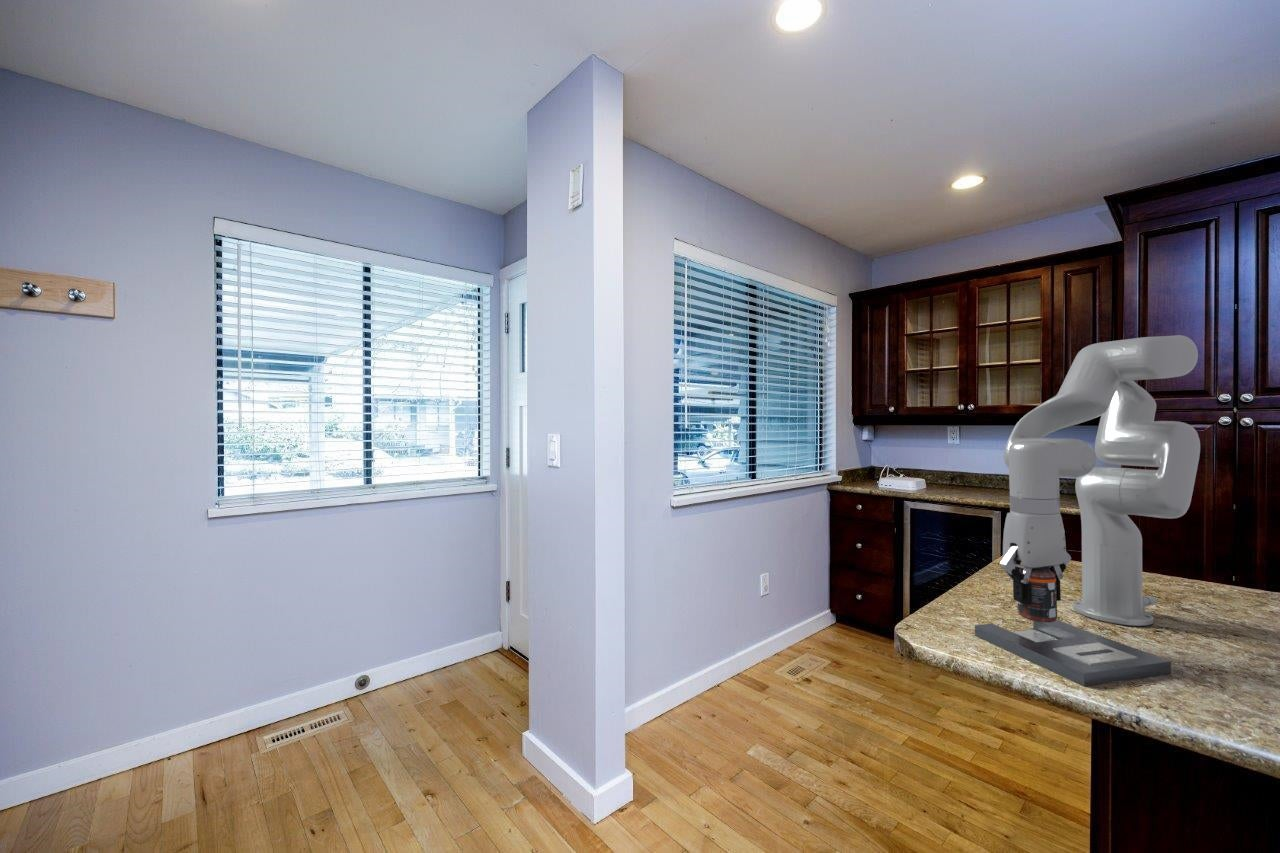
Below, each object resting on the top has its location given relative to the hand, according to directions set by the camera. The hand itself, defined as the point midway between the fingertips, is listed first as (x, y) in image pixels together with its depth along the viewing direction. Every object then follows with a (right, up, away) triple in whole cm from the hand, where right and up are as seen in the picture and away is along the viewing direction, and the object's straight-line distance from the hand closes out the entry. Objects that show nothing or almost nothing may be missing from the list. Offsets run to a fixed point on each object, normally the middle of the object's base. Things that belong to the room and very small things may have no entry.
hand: (1036, 599), depth 97 cm
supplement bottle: (0, -4, 0) cm, 4 cm away
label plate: (+1, -8, -6) cm, 10 cm away
